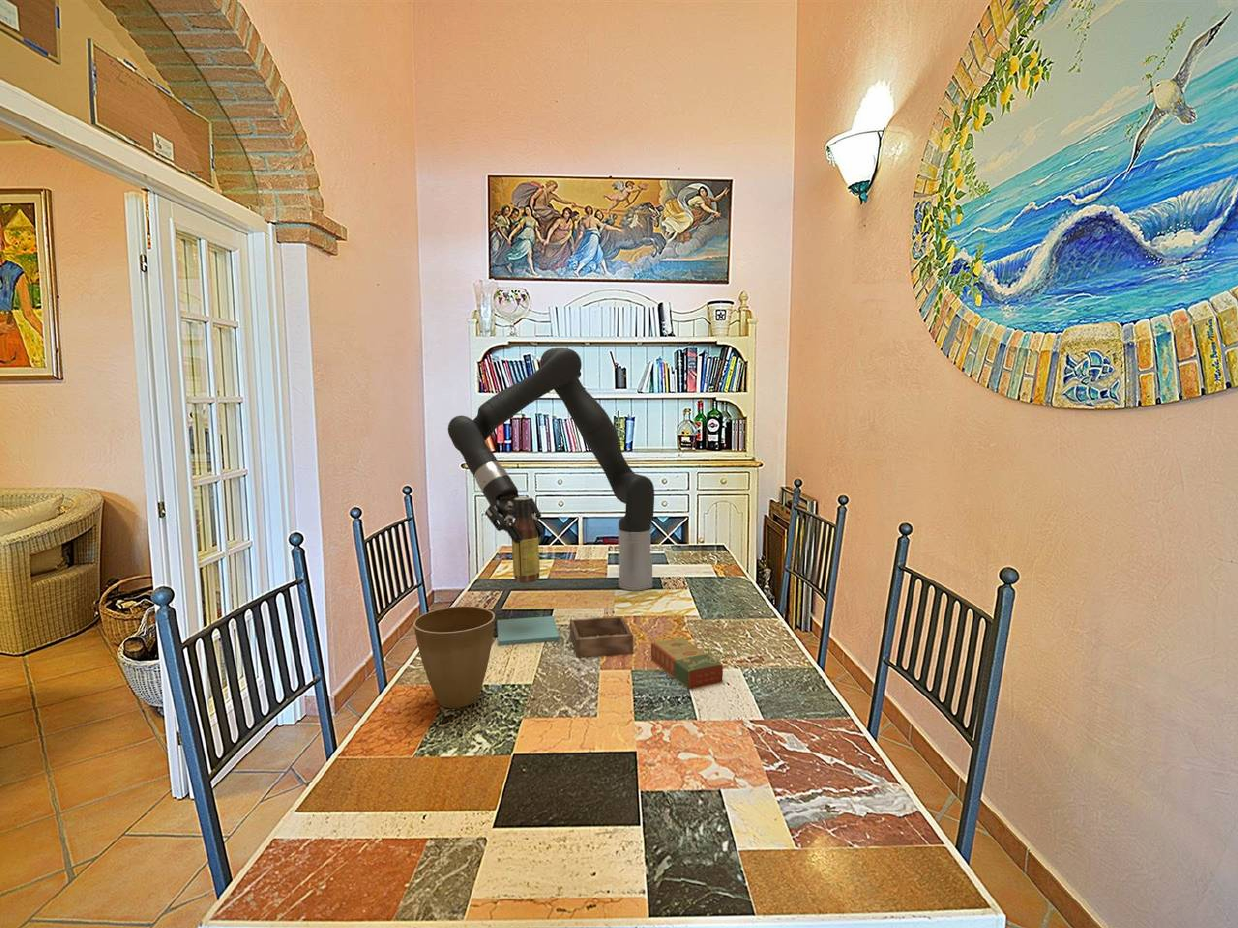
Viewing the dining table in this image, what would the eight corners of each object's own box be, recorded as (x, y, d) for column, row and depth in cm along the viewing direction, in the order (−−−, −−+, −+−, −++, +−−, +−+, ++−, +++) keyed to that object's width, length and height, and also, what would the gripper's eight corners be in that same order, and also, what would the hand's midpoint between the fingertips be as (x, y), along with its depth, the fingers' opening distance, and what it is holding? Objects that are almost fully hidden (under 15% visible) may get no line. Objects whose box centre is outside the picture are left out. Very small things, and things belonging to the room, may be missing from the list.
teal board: (553, 619, 170) (553, 615, 170) (559, 640, 156) (559, 636, 156) (497, 623, 167) (497, 619, 167) (498, 645, 153) (498, 641, 153)
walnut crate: (621, 632, 161) (621, 615, 161) (633, 652, 149) (633, 635, 148) (569, 636, 159) (569, 619, 158) (576, 657, 147) (576, 639, 146)
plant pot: (512, 689, 131) (510, 611, 129) (464, 725, 118) (461, 637, 116) (451, 676, 137) (448, 600, 135) (399, 708, 124) (395, 625, 122)
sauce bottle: (544, 577, 162) (543, 496, 160) (532, 584, 156) (531, 500, 154) (519, 574, 164) (518, 494, 162) (507, 582, 158) (505, 499, 156)
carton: (683, 654, 149) (683, 635, 149) (723, 683, 135) (724, 662, 134) (649, 660, 146) (650, 641, 145) (688, 691, 131) (688, 670, 131)
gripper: (479, 477, 156) (514, 534, 150) (524, 471, 167) (559, 524, 161) (465, 497, 160) (499, 554, 154) (510, 489, 171) (544, 542, 165)
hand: (530, 538), depth 158 cm, fingers closed on sauce bottle, 6 cm apart
